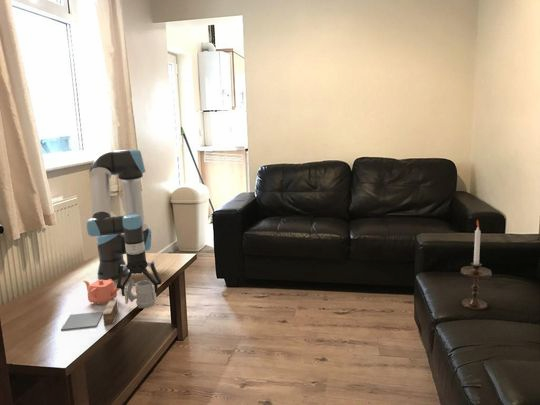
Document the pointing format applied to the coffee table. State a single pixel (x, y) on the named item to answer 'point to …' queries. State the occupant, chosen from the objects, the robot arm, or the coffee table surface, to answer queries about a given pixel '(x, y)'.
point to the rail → (110, 313)
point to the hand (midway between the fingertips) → (141, 301)
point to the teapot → (101, 291)
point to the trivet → (82, 321)
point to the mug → (141, 293)
